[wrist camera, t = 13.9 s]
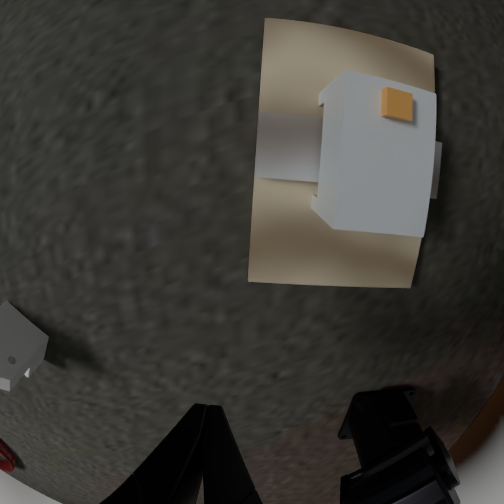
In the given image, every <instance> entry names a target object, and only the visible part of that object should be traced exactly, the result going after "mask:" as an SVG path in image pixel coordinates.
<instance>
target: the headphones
mask: <svg viewBox="0 0 504 504" xmlns="http://www.w3.org/2000/svg"><path fill="white" fill-rule="evenodd" d="M0 453H1V454H2V455H3V456H4V458H5V459H6V460H7V461H8V462H7V461H3V460H1V459H0V469H2V470H4V471H9V472H10V471H13V470H14V467H15V464H16V459H15V457H14V455H13V454H12V452H11V451H10V450H9V449H8V448H7V446H6V445H5V444H4V443H3V442H2V441H1V440H0Z"/></svg>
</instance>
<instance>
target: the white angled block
mask: <svg viewBox="0 0 504 504" xmlns="http://www.w3.org/2000/svg"><path fill="white" fill-rule="evenodd" d="M48 339H49V337H48V336H47V335H46V334H45V333H43V332H42V331H41V330H40V329H39V328H37V327H36V326H35V325H34V324H33V323H31V322H30V321H29V320H28V319H27V318H26V317H24V316H23V315H22V314H21V313H20V312H19V311H18V310H17V309H15V308H14V307H13V306H12V305H11V304H10V303H9V302H8V301H6V302H4V303H3V304H2V305H0V389H3V390H7V391H10V390H11V389H12V388H13V387H14V385H15V384H16V383H17V382H18V381H19V379H20V378H21V377H22V376H23V375H25V376H27V377H29V376H30V375H31V374H32V373H33V371H34V370H35V369H36V368H37V367H38V365H39V364H40V363H41V362H42V361H43V360H44V356H45V351H46V347H47V343H48Z"/></svg>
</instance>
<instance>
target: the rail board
mask: <svg viewBox="0 0 504 504" xmlns="http://www.w3.org/2000/svg"><path fill="white" fill-rule="evenodd" d="M344 70H349V71H354V72H359V73H363V74H368V75H372V76H376V77H380V78H384V79H388V80H392V81H396V82H400V83H403V84H407V85H410V86H413V87H417V88H420V89H423V90H426V91H429V92H432V93H435V77H434V58H433V55H432V54H430V53H427V52H424V51H421V50H419V49H416V48H413V47H410V46H407V45H404V44H401V43H398V42H394V41H391V40H388V39H384V38H381V37H377V36H373V35H369V34H365V33H361V32H357V31H353V30H348V29H343V28H338V27H333V26H328V25H322V24H316V23H309V22H302V21H294V20H284V19H274V18H265V25H264V40H263V54H262V69H261V84H260V99H259V114H258V129H257V145H256V160H255V175H254V191H253V206H252V222H251V238H250V254H249V269H248V282H264V283H283V284H303V285H326V286H352V287H385V288H410V287H411V284H412V279H413V275H414V271H415V267H416V262H417V258H418V253H419V248H420V243H421V238H422V237H415V236H405V235H395V234H384V233H373V232H361V231H349V230H337V229H332V228H331V227H330V226H329V225H328V224H327V223H326V222H325V221H324V220H323V219H322V218H321V217H320V216H319V215H318V214H317V213H315V212H314V211H313V210H312V209H311V204H312V194H313V195H317V193H318V182H319V170H320V158H321V144H322V129H323V111H324V107H323V106H319V93H320V92H321V91H322V90H323V89H324V88H325V87H326V86H327V85H328V84H329V83H331V82H332V81H333V80H334V79H335V78H336V77H337V76H338V75H339V74H341V73H342V72H343V71H344ZM441 151H442V143H441V142H437V141H435V153H434V166H433V176H432V185H431V193H430V198H433V199H437V191H438V183H439V174H440V164H441Z"/></svg>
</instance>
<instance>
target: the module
mask: <svg viewBox="0 0 504 504" xmlns="http://www.w3.org/2000/svg"><path fill="white" fill-rule="evenodd" d="M319 106H323V107H324V111H323V129H322V144H321V158H320V170H319V182H318V193H317V195H313V194H312V204H311V209H312V210H313V211H314V212H315V213H317V214H318V215H319V216H320V217H321V218H322V219H323V220H324V221H325V222H326V223H327V224H328V225H329V226H330V227H331V228H332V229H337V230H349V231H361V232H373V233H384V234H395V235H405V236H415V237H424V232H425V226H426V220H427V214H428V208H429V201H430V193H431V185H432V176H433V166H434V153H435V137H436V94H435V93H432V92H429V91H426V90H423V89H420V88H417V87H413V86H410V85H407V84H403V83H400V82H396V81H392V80H388V79H384V78H380V77H376V76H372V75H368V74H363V73H359V72H354V71H349V70H344V71H343V72H342V73H341V74H339V75H338V76H337V77H336V78H335V79H334V80H333V81H332V82H331V83H329V84H328V85H327V86H326V87H325V88H324V89H323V90H322V91H321V92H320V93H319Z"/></svg>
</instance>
